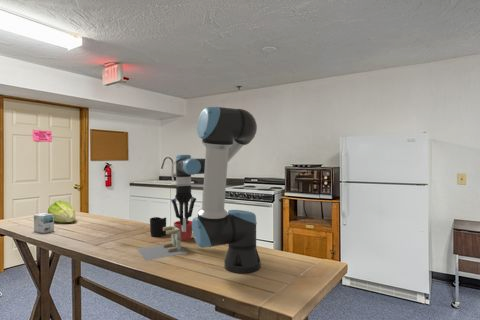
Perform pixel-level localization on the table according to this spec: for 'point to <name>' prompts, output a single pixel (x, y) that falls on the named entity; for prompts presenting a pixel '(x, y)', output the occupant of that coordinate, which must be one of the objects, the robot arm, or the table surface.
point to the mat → (158, 252)
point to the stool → (173, 239)
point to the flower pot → (184, 235)
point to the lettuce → (62, 212)
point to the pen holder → (157, 226)
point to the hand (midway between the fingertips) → (183, 231)
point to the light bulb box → (43, 223)
